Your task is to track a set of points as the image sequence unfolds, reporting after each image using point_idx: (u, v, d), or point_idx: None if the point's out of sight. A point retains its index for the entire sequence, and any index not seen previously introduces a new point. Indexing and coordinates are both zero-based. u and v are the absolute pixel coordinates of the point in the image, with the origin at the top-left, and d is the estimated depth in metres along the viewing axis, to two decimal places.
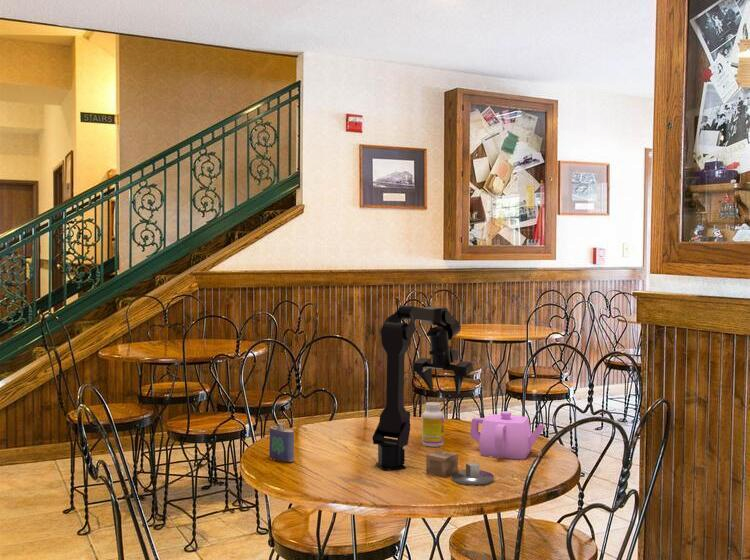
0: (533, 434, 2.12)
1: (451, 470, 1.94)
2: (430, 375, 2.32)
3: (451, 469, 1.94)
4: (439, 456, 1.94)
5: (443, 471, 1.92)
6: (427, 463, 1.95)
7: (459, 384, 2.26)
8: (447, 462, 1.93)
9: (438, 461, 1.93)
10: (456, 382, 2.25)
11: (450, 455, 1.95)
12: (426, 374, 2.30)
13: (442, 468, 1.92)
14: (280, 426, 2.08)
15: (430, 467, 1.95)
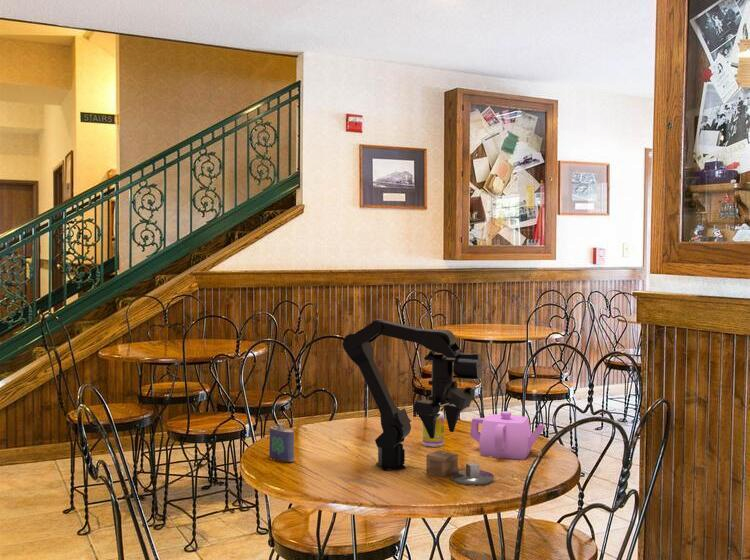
0: (533, 434, 2.12)
1: (451, 470, 1.94)
2: (454, 414, 1.99)
3: (451, 469, 1.94)
4: (439, 456, 1.94)
5: (443, 471, 1.92)
6: (427, 463, 1.95)
7: (426, 424, 1.92)
8: (447, 462, 1.93)
9: (438, 461, 1.93)
10: None
11: (450, 455, 1.95)
12: (447, 408, 2.00)
13: (442, 468, 1.92)
14: (280, 426, 2.08)
15: (430, 467, 1.95)
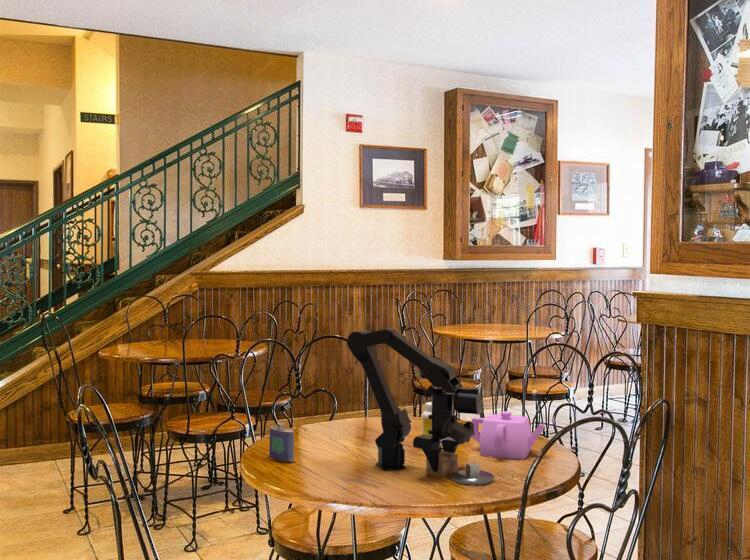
0: (533, 434, 2.12)
1: (451, 470, 1.94)
2: (451, 448, 1.98)
3: (451, 469, 1.94)
4: (439, 456, 1.94)
5: (443, 471, 1.92)
6: (427, 463, 1.95)
7: (429, 458, 1.93)
8: (447, 462, 1.93)
9: (438, 461, 1.93)
10: None
11: (450, 455, 1.95)
12: (444, 442, 2.00)
13: (442, 468, 1.92)
14: (280, 426, 2.08)
15: (430, 467, 1.95)
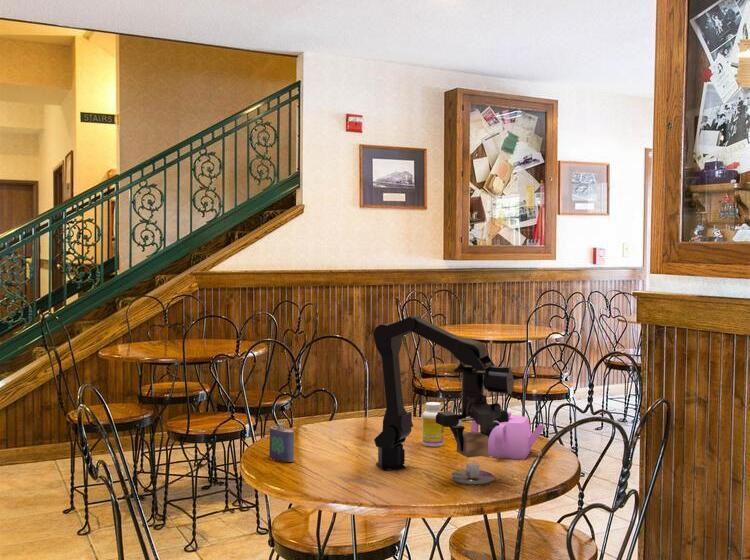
0: (533, 434, 2.12)
1: (477, 452, 1.87)
2: (485, 430, 1.90)
3: (477, 450, 1.87)
4: (466, 435, 1.89)
5: (466, 451, 1.87)
6: None
7: (455, 436, 1.89)
8: (471, 442, 1.86)
9: (463, 440, 1.88)
10: None
11: (478, 436, 1.88)
12: None
13: (465, 448, 1.87)
14: (280, 426, 2.08)
15: None
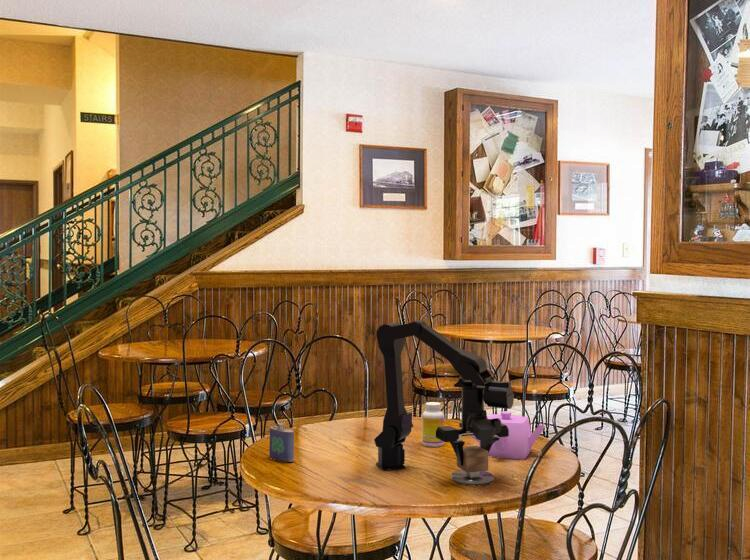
0: (533, 434, 2.12)
1: (478, 466, 1.87)
2: (485, 445, 1.91)
3: (478, 465, 1.87)
4: (466, 450, 1.89)
5: (466, 466, 1.87)
6: None
7: (455, 451, 1.89)
8: (471, 457, 1.87)
9: (463, 455, 1.88)
10: None
11: (478, 451, 1.88)
12: None
13: (466, 463, 1.87)
14: (280, 426, 2.08)
15: None
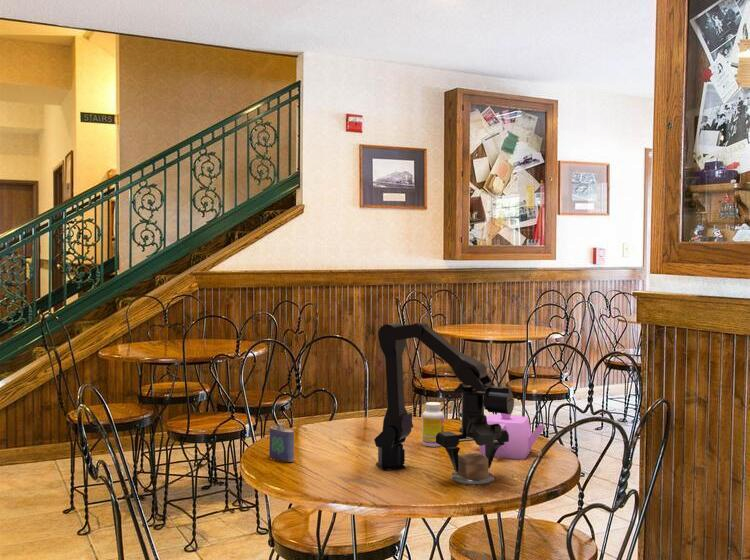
0: (533, 434, 2.12)
1: (478, 474, 1.87)
2: (490, 449, 1.91)
3: (478, 473, 1.87)
4: (466, 458, 1.89)
5: (466, 473, 1.87)
6: None
7: (450, 457, 1.89)
8: (471, 465, 1.87)
9: (463, 462, 1.88)
10: None
11: (478, 458, 1.88)
12: None
13: (466, 470, 1.87)
14: (280, 426, 2.08)
15: (459, 468, 1.91)
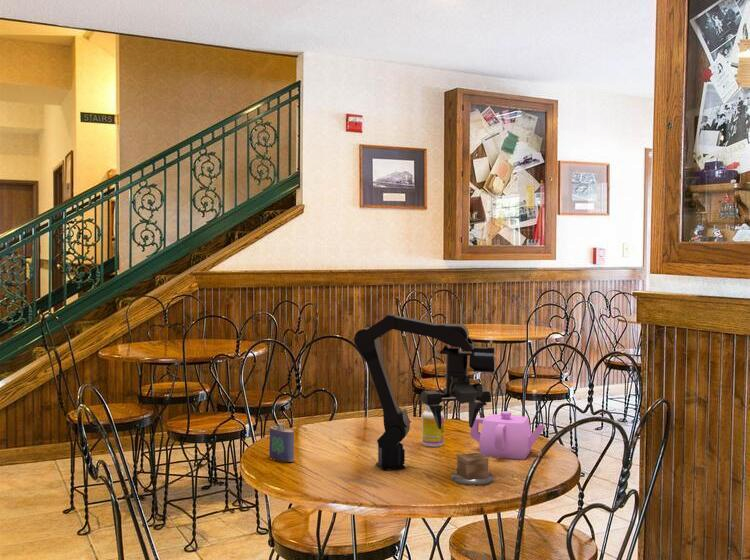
0: (533, 434, 2.12)
1: (478, 474, 1.87)
2: (473, 409, 1.98)
3: (478, 473, 1.87)
4: (466, 458, 1.89)
5: (466, 473, 1.87)
6: (457, 463, 1.92)
7: (434, 415, 1.96)
8: (471, 465, 1.87)
9: (463, 462, 1.88)
10: None
11: (478, 458, 1.88)
12: (470, 403, 2.00)
13: (466, 470, 1.87)
14: (280, 426, 2.08)
15: (459, 468, 1.91)
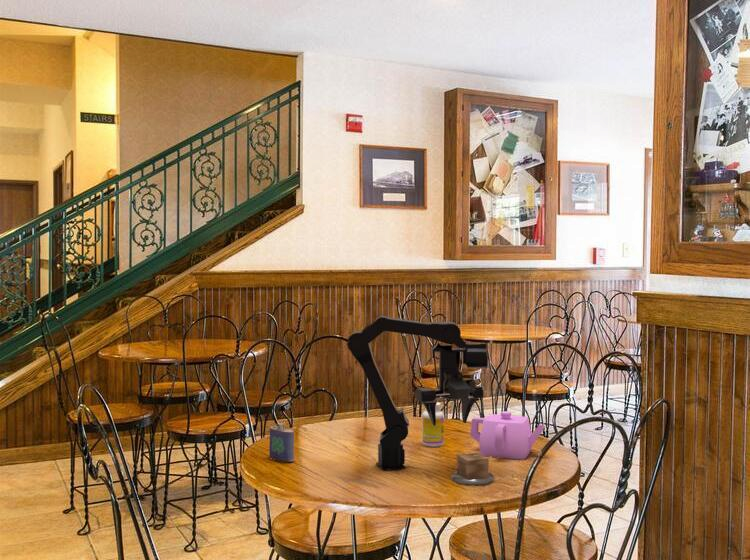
0: (533, 434, 2.12)
1: (478, 474, 1.87)
2: (466, 405, 2.02)
3: (478, 473, 1.87)
4: (466, 458, 1.89)
5: (466, 473, 1.87)
6: (457, 463, 1.92)
7: (428, 411, 2.00)
8: (471, 465, 1.87)
9: (463, 462, 1.88)
10: None
11: (478, 458, 1.88)
12: (463, 399, 2.04)
13: (466, 470, 1.87)
14: (280, 426, 2.08)
15: (459, 468, 1.91)
